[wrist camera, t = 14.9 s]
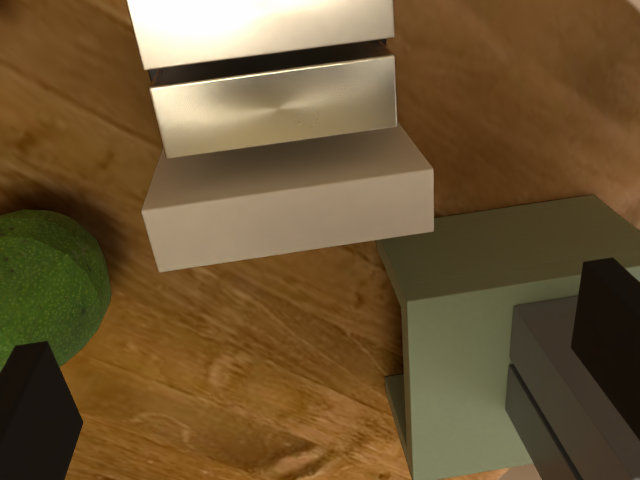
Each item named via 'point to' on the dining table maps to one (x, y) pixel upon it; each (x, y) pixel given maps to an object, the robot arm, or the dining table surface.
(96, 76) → the dining table surface
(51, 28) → the dining table surface
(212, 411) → the dining table surface
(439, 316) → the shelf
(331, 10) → the book rack
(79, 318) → the avocado
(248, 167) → the white book
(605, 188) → the dining table surface
